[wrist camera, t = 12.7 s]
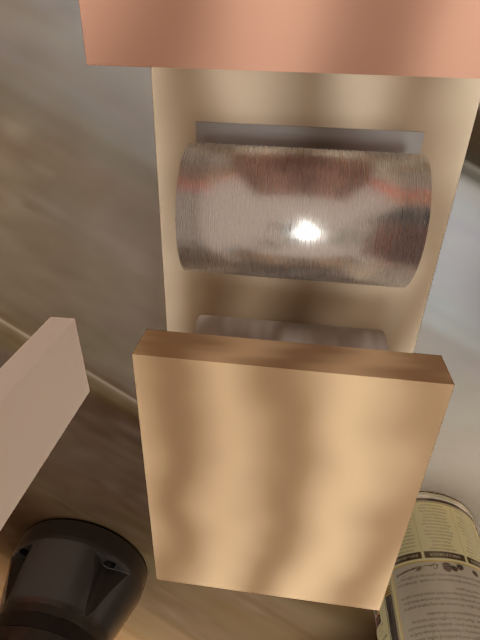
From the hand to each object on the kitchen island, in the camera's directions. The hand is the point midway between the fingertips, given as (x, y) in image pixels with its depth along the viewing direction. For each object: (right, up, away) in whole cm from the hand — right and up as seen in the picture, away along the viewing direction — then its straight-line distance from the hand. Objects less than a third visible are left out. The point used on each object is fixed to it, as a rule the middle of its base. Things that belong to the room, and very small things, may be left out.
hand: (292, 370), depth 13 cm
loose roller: (+2, +9, +15) cm, 17 cm away
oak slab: (+1, -8, +16) cm, 18 cm away
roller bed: (+2, +3, +20) cm, 20 cm away
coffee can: (+15, -18, +30) cm, 39 cm away
